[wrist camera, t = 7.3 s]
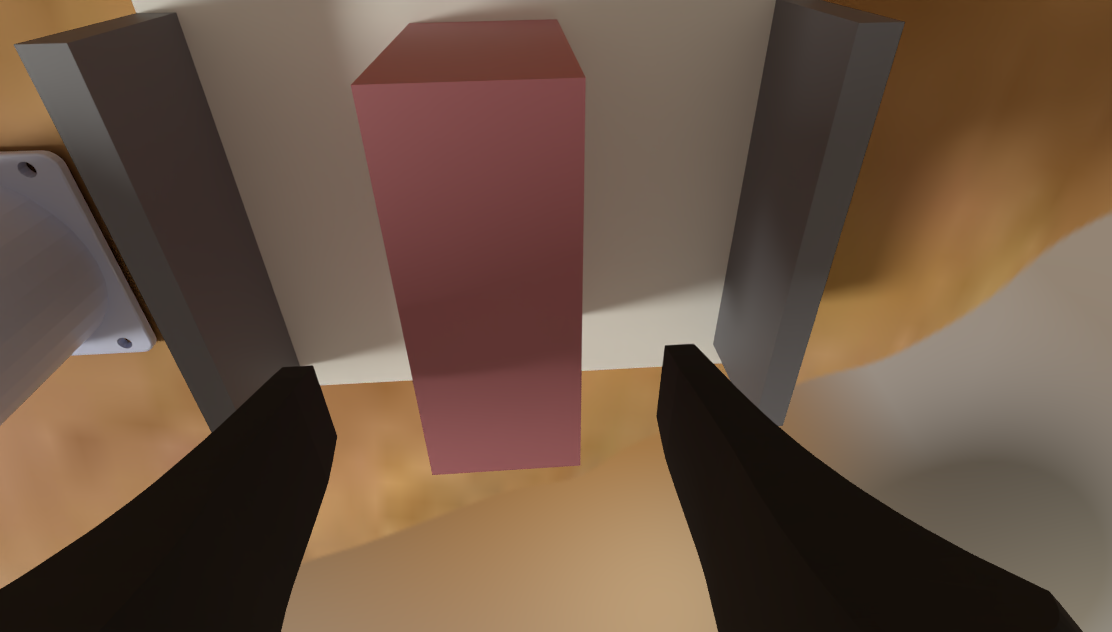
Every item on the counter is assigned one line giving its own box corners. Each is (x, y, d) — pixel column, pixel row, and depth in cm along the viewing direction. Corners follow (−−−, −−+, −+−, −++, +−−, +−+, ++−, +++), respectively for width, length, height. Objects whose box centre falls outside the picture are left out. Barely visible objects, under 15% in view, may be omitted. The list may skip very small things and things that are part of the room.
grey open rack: (296, 355, 24) (236, 480, 19) (159, -37, 16) (-17, -15, 11) (718, 333, 25) (776, 446, 19) (790, -49, 17) (921, -34, 11)
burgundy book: (452, 323, 21) (432, 474, 15) (409, 23, 15) (350, 85, 10) (560, 318, 21) (580, 465, 16) (557, 19, 16) (586, 77, 10)
